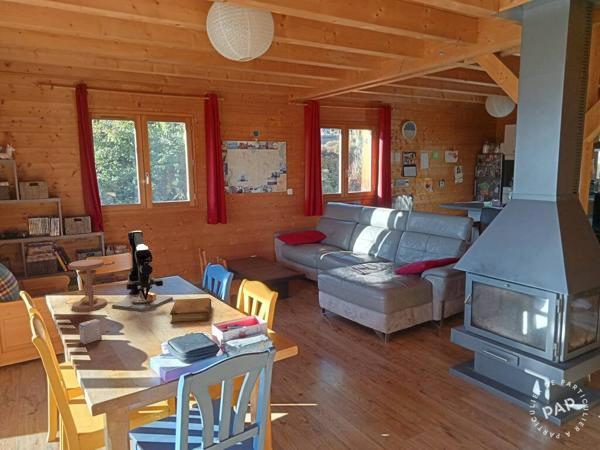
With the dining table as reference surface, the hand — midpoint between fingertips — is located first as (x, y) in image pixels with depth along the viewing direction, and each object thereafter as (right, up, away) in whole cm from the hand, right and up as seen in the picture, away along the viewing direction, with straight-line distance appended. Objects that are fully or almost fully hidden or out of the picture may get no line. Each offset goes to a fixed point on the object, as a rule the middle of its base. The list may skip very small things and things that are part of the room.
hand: (145, 299), depth 241 cm
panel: (-4, -4, +8) cm, 10 cm away
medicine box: (-9, -11, -45) cm, 47 cm away
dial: (-2, -2, +6) cm, 7 cm away
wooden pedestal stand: (-33, -5, +4) cm, 33 cm away
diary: (+29, -7, -12) cm, 32 cm away
